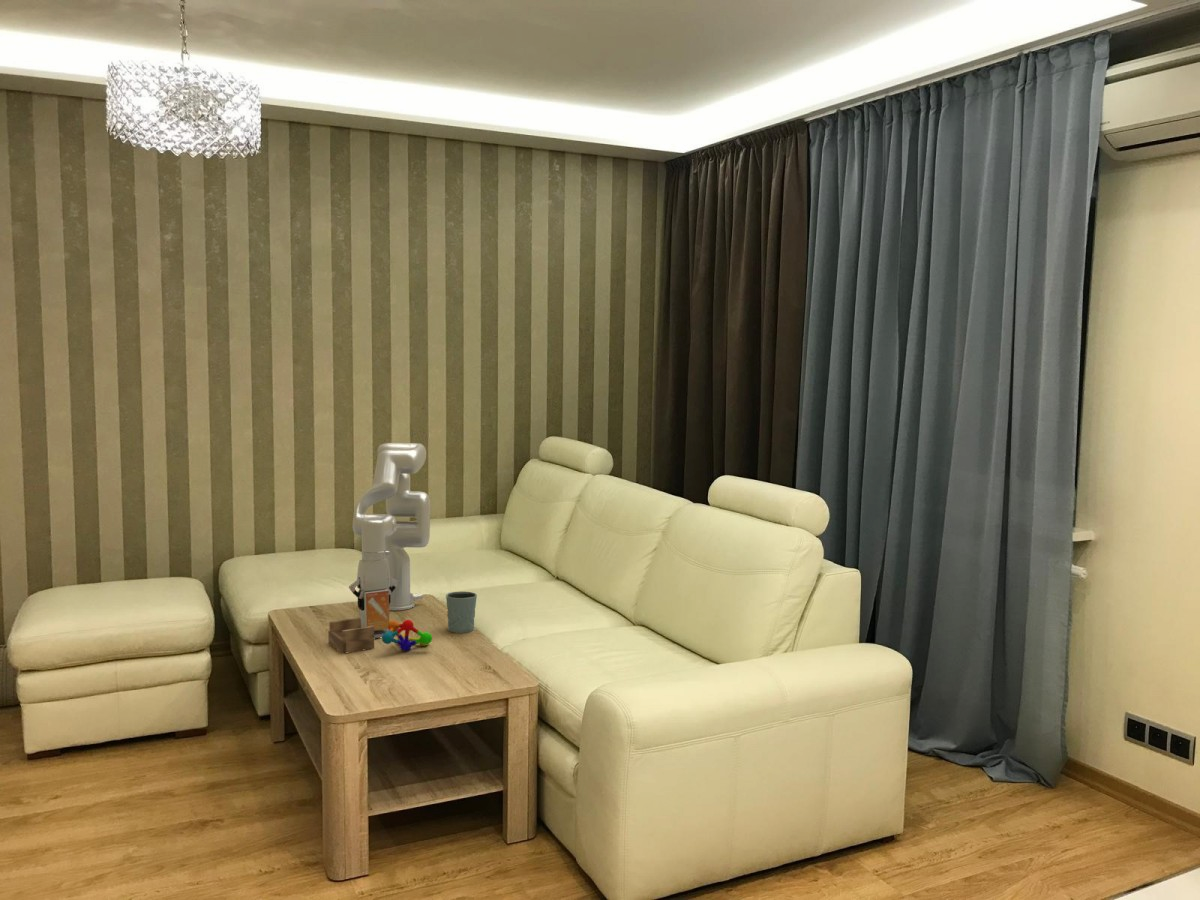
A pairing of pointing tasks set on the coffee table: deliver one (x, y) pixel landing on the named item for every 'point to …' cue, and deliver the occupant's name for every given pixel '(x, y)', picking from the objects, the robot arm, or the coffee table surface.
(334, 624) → the slot
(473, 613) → the blue-grey cup
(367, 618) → the small box
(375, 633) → the coaster
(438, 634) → the coffee table surface
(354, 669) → the coffee table surface
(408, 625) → the molecular model
